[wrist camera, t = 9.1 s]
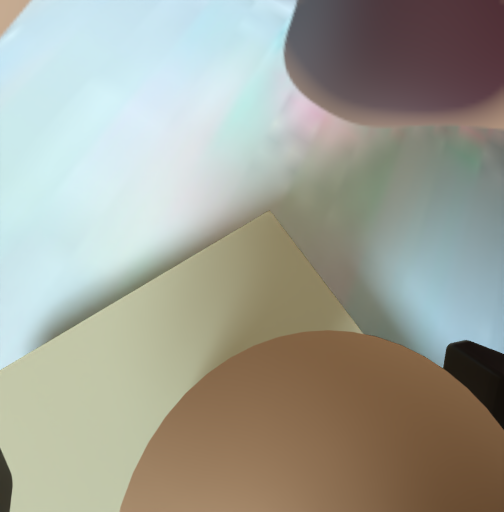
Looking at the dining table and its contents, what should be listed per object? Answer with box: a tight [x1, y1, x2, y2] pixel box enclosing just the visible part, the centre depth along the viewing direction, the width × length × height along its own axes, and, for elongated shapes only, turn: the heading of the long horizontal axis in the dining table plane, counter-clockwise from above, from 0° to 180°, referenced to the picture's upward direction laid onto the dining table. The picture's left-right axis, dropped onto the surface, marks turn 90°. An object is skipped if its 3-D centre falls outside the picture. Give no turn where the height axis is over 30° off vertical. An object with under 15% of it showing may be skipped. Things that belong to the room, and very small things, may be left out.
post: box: [119, 330, 504, 512], centre depth 10 cm, size 4×4×12 cm
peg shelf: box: [0, 210, 363, 512], centre depth 18 cm, size 14×14×4 cm
